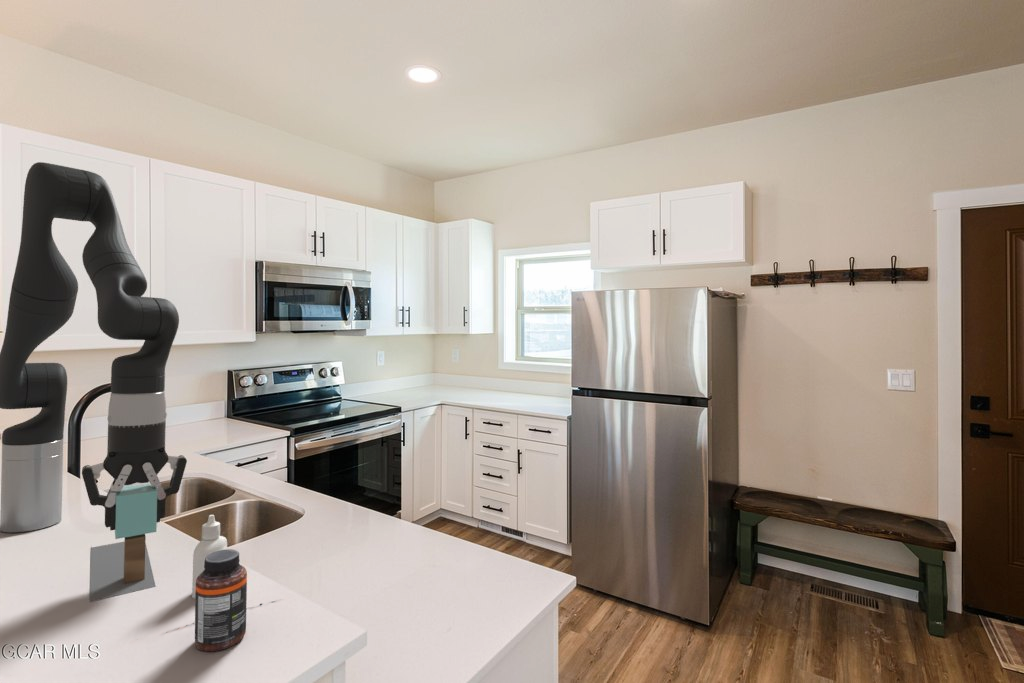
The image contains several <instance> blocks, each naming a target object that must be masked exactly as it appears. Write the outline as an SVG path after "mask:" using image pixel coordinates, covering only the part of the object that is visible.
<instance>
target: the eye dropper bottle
mask: <svg viewBox="0 0 1024 683" xmlns="http://www.w3.org/2000/svg"><path fill="white" fill-rule="evenodd" d="M201 526H202V527H201V540H200V542H198V544H197V545H196V547H195V548H194V550H193V554H192V558H193V559H192V587H191V592H192V593H191V597H192V599H195V597H196V595H195V593H196V590H195V589H196V579H197V577H198V576H199V575H200V573H202V572H203V571H204V569H205V568H204V562H205V557H206V556H207V555H209V554H210V553H213V552H215V551H219V550H226V549H228V539H227V538H226V537H225V536H223V535H221V523H220V521H216V519H215V515H214V514H209V515H208V519H207V522H205V523H204V524H202V525H201Z"/></svg>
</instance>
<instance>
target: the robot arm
mask: <svg viewBox="0 0 1024 683" xmlns="http://www.w3.org/2000/svg"><path fill="white" fill-rule="evenodd" d="M25 178H26V179H25V183H24V192H23V193H24V194H23V205H22V223H21V236H20V243H19V250H18V255H17V259H16V260H17V261H16V264H15V269H14V275H13V279H12V283H11V288H10V294H9V301H8V302H9V303H8V310H7V317H6V328H5V331H4V332H5V333H4V338H3V342H2V346H1V350H0V409H2V410H21V409H22V410H23V409H35V408H36V409H37V408H39V409H40V408H41V409H40V411H39V413H37V414H35V415H34V416H33V417H31V418H29V419H28V420H25V421H22V422H20V423H17V424H14V425H11V426H9V427H7V428H5V429H4V430H3V431H2V435H1V471H0V472H1V474H0V475H1V477H0V478H1V479H0V531H1V532H4V533H23V532H24V533H25V532H31V531H36V530H41V529H44V528H49V527H50V526H53V525H57V524H58V523H59V522H61V521H62V515H63V514H62V512H63V479H64V478H63V476H64V475H63V474H64V473H63V472H64V467H63V466H64V431H65V420H66V419H65V418H66V417H65V415H66V401H67V391H68V374H67V370H66V368H65V366H64V365H63V364H61V363H59V362H27V361H28V359H29V358H30V356H31V355H32V353H33V352H34V351H35V350H36V349H37V348H38V347H39V346H40V345H41V344H42V343H44V342H45V341H46V340H48V338H50V337H51V336H53V335H54V334H55V333H56V332H57V331H59V330H60V329H61V328H62V327H63V326H64V325H65V324H66V323H67V322H68V321H69V320H70V319H71V317H72V315H73V314H74V311H75V306H76V302H77V301H76V300H77V296H78V294H79V293H78V292H79V283H78V279H77V277H76V275H75V273H74V271H73V269H72V268H71V267H70V265H69V263H68V262H67V261H66V259H65V258H64V256H63V254H62V253H61V252H60V250H59V249H58V247H57V245H56V242H55V240H54V237H53V233H52V232H53V231H52V229H53V226H52V225H53V221H54V219H63V220H70V221H75V222H76V221H78V222H90V223H91V224H92V225H93V226H94V227H95V229H94V232H92V234H91V236H90V237H89V239H88V240H87V241H86V243H85V245H84V248H83V250H82V258H81V259H82V263H83V264H82V265H83V267H84V269H85V271H86V274H87V275H88V278H89V280H90V282H91V283H92V285H93V287H94V289H95V293H96V294H95V296H96V301H97V324H98V327H99V330H101V332H102V333H103V334H104V335H106V336H108V337H109V338H111V339H114V340H119V341H144V342H143V344H142V345H141V347H140V349H139V350H138V351H136V352H133V353H131V354H125V355H120V356H118V357H115V358H114V359H113V360H112V363H111V371H110V372H111V373H110V374H111V375H110V376H111V377H110V397H109V398H110V399H109V403H108V410H107V411H108V413H107V451H106V453H107V454H106V457H105V458H104V460H103V462H100V463H96V464H93V465H92V464H91V465H90V464H89V465H87V464H86V465H84V466H83V467H82V468H81V475H82V476H81V477H82V479H83V483H84V486H85V490H86V493H87V497H88V500H89V503H90V505H91V506H93V507H95V506H101V507H104V526H105V527H106V528H110V529H109V530H110V531H115V522H116V504H115V502H116V494H120V492H121V490H122V488H123V487H126V486H130V485H131V486H132V485H134V484H136V483H138V484H145V483H146V484H151V486H152V488H153V489H157V523H160V522H161V519H164V518H165V516H166V500H167V498H168V497H169V496H172V495H176V494H177V493H179V491H180V488H181V484H182V482H183V476H184V474H185V469H186V466H187V462H188V460H187V458H186V457H185V455H182V454H181V455H178V456H176V455H175V456H173V455H172V456H171V455H168V453H167V452H166V420H167V415H168V414H167V404H166V396H165V393H166V392H165V387H166V386H165V382H166V380H165V379H166V365H167V362H168V359H169V355H170V352H171V348H172V346H173V342H174V341H175V338H176V336H177V333H178V330H179V324H180V318H179V316H180V315H179V312H178V310H177V308H176V306H175V304H173V302H171V301H170V300H168V299H166V298H161V297H150V296H144V294H145V293H146V292H147V289H148V281H147V279H146V276H145V274H144V273H143V271H142V269H141V267H140V265H139V264H138V262H137V259H136V258H135V256H134V254H133V253H132V251H131V248H130V246H129V245H128V241H127V238H126V235H125V233H124V229H123V225H122V222H121V218H120V215H119V211H118V209H117V206H116V202H115V198H114V196H113V193H112V191H111V188H110V186H109V184H108V183H107V181H106V179H105V178H104V177H103V176H101V175H100V174H99V173H98V174H97V173H96V172H93V171H90V170H85V169H79V168H75V167H69V166H64V165H59V164H54V163H50V162H41V161H39V162H35V163H33V164H32V165H31V167H30V168H29V169H28V172H27V174H26V177H25ZM167 463H169V467H170V469H171V470H172V474H171V477H170V478H171V479H170V481H169V485H168V486H165V487H163V485H162V483H161V481H160V479H159V476H158V474H159V473H160V471H161V470H162V469H163V468H165V466H166V465H167ZM104 470H105V471H106V472H107V473H108V474H109V475H110V476H111V477H112V478H113V480H112V483H111V485H110V487H109V489H108V492H107V494H106V495H104V494H103V495H102V494H100V491H99V487H98V483H97V480H98V479H99V478H100V477H101V472H102V471H104Z"/></svg>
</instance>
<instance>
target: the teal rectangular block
mask: <svg viewBox="0 0 1024 683" xmlns="http://www.w3.org/2000/svg"><path fill="white" fill-rule="evenodd" d="M115 504H116V522H115V530H114V537H115V540H119V539H123V538H124V539H125V537H130V536H136V535H141V534H145V535H146V534H152V533H156V532H157V528H158V527H157V526H158V524H157V523H158V522H157V489H153V488H152V486H151V484H150V483H146V484H145V483H144V484H139V485H131V486H130V485H129V486H123V488H122V490H121V492H120V494H116V502H115Z"/></svg>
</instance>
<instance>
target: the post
mask: <svg viewBox="0 0 1024 683" xmlns="http://www.w3.org/2000/svg"><path fill="white" fill-rule="evenodd" d="M146 537H147V536H146V534H141V535H136V536H130V537H125V538H124V541H125V542H124V541H123V542H124V584H127V583H131V582H136V581H140V580H145V542H146Z"/></svg>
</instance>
